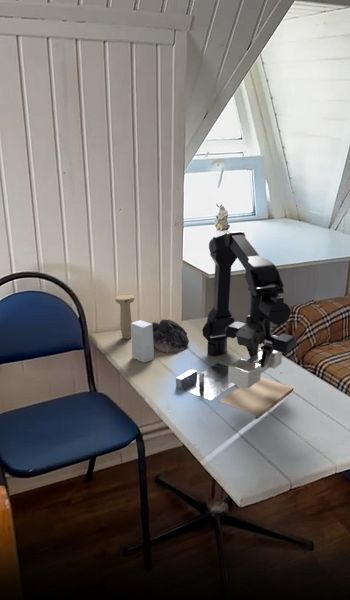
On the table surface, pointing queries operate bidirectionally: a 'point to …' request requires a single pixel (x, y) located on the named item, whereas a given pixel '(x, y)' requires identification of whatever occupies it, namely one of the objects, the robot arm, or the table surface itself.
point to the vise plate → (205, 381)
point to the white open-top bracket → (251, 369)
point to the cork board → (258, 396)
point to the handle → (125, 314)
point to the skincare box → (142, 341)
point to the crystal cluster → (169, 336)
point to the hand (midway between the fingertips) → (258, 365)
